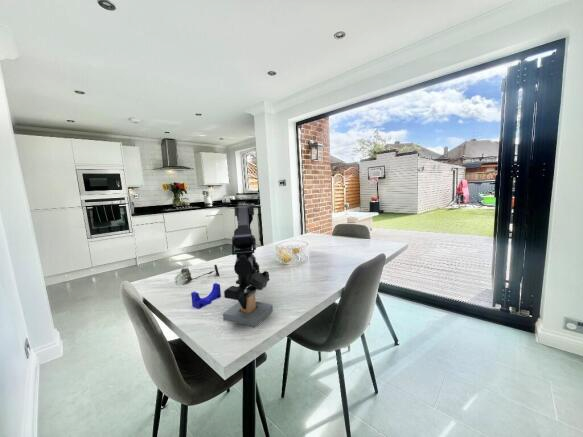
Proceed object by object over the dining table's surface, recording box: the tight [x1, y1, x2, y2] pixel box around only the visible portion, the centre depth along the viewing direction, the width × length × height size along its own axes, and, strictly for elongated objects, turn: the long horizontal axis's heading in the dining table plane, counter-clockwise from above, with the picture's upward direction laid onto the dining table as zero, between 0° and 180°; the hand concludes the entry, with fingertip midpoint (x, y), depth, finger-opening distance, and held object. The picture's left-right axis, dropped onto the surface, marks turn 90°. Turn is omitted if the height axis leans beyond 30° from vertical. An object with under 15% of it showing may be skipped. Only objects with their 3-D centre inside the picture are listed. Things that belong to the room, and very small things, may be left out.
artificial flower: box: [174, 264, 220, 286], centre depth 129 cm, size 9×22×10 cm, turn 114°
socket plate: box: [222, 300, 274, 328], centre depth 90 cm, size 14×12×2 cm
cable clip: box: [190, 282, 222, 310], centre depth 103 cm, size 12×4×6 cm, turn 142°
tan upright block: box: [240, 289, 257, 314], centre depth 90 cm, size 4×4×8 cm
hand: (248, 306), depth 90 cm, fingers closed on tan upright block, 4 cm apart
